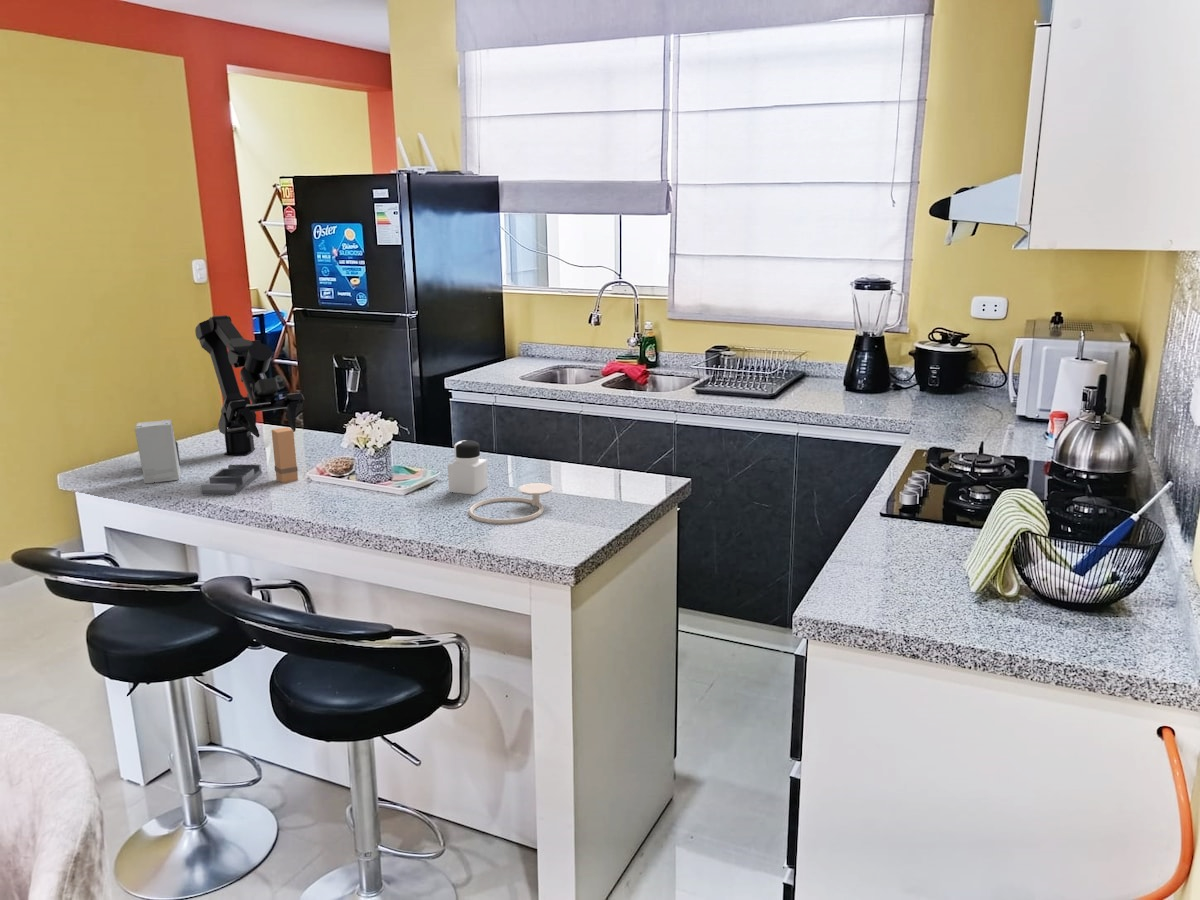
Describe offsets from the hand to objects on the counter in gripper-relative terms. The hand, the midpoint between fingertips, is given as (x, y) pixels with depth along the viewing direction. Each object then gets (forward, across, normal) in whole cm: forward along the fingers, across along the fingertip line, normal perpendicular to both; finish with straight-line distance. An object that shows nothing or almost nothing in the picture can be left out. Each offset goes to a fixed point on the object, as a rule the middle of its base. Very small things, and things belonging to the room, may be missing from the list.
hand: (276, 433), depth 230 cm
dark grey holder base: (+7, -12, +9) cm, 16 cm away
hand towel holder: (+52, +30, -34) cm, 69 cm away
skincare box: (-4, -24, +20) cm, 32 cm away
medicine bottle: (+37, +31, -20) cm, 52 cm away
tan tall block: (+11, 0, +5) cm, 12 cm away
